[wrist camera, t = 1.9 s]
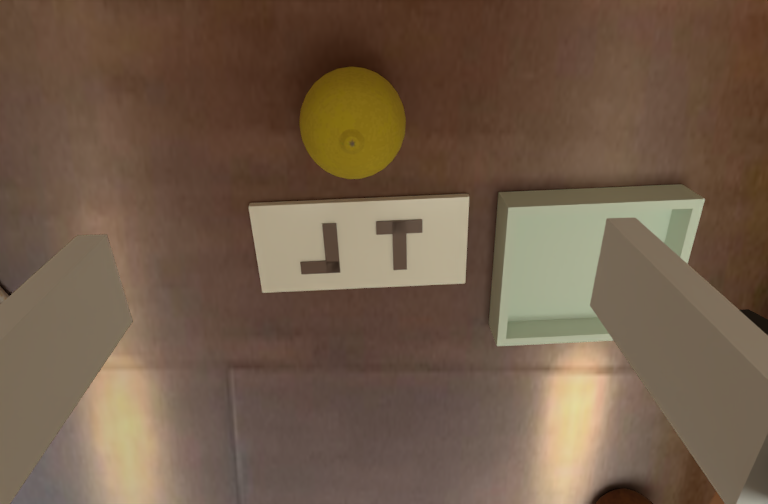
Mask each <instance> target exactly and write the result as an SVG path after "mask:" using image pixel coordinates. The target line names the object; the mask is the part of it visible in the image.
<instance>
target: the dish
mask: <svg viewBox="0 0 768 504" xmlns="http://www.w3.org/2000/svg"><path fill="white" fill-rule="evenodd" d="M704 201H705V199H704V198H703V197H701V196H700V195H698V194H696V193H695V192H693V191H692V190H690V189H689V188H687V187H685V186H684V185H682V184H674V185H651V186H628V187H605V188H582V189H559V190H536V191H513V192H498V204H497V218H496V232H495V245H494V259H493V273H492V286H491V300H490V314H489V327H490V329H491V332H492V335H493V338H494V340H495V343H496V346H514V345H534V344H555V343H575V342H595V341H614V340H613V339H612V337H611V336H610V334H609V333H608V331H607V330H606V328H605V327H604V326H603V324H602V323H601V321H600V320H599V318H598V317H597V315H596V314H595V312H594V311H593V309H592V308H591V307H590V301H591V296H592V291H593V286H594V281H595V276H596V271H597V266H598V260H599V255H600V250H601V245H602V240H603V235H604V230H605V225H606V219H607V218H633V217H635V218H637V219H638V220H639V221H640V222H641V223H642V224H643V225H644V226H646V227H647V228H648V229H649V230H650V231H651V232H652V233H653V234H654V235H656V236H657V237H658V238H659V239H660V240H661V241H662V242H663V243H665V244H666V245H667V246H668V247H669V248H670V249H671V250H672V251H674V252H675V253H676V254H677V255H678V256H679V257H680V258H681V259H682V260H684V261H685V262H686V263H687V264H688V260H689V257H690V253H691V249H692V246H693V242H694V238H695V234H696V231H697V227H698V223H699V219H700V216H701V212H702V208H703V205H704Z"/></svg>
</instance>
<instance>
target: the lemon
mask: <svg viewBox="0 0 768 504" xmlns="http://www.w3.org/2000/svg"><path fill="white" fill-rule="evenodd" d="M299 125H300V131H301V138H302V140H303V143H304V145H305V148H306V150H307V152H308V153H309V155H310V156H311V157H312V159H313V160H314V161H315V163H316V164H318V165H319V166H320V167H321V168H322V169H324V170H325V171H326V172H328V173H331V174H333V175H335V176H337V177H341V178H346V179H361V178H365V177H368V176H372V175H374V174H376V173H377V172H379V171H381V170H383V169H384V168H385V167H386V166H387V165H388V164H389V163H390V162H391V161H392V160H393V159H394V157H395V156H396V154H397V153H398V151H399V150H400V148H401V145H402V142H403V139H404V136H405V125H406V118H405V112H404V107H403V104H402V102H401V100H400V97H399V95H398V93H397V91H396V90H395V89H394V88H393V86H392V85H391V84H390V83H389V82H388V81H387V80H386V79H385V78H383V77H382V76H380V75H379V74H378V73H376V72H373V71H371V70H368V69H366V68H360V67H344V68H338V69H336V70H333V71H331V72H329V73H327V74H325V75H324V76H322V77H321V78H320V79H319V80H317V81H316V82H315V83H314V84H313V86H312V87H311V89H310V90H309V91H308V93H307V94H306V96H305V99H304V102H303V104H302V107H301V112H300V122H299Z"/></svg>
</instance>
